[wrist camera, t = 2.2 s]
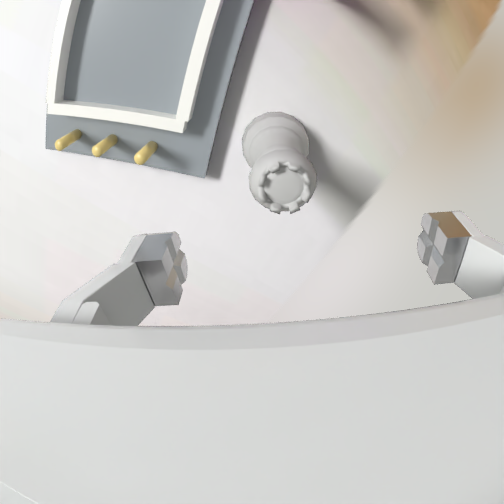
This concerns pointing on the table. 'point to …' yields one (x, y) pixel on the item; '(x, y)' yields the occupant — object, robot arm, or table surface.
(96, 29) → the board
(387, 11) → the table surface
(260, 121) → the rook chess piece
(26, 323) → the robot arm
